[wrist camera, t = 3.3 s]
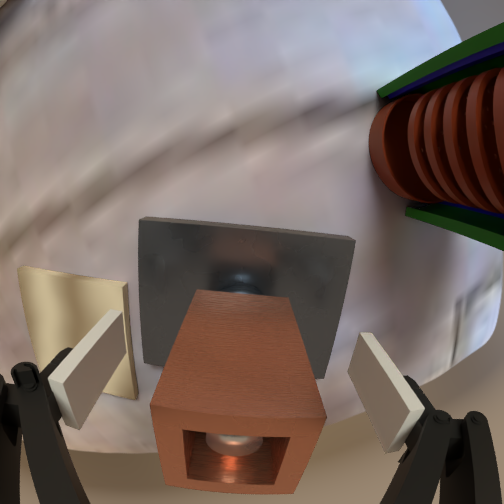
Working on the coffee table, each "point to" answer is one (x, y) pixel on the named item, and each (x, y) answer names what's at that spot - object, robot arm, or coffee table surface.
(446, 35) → the coffee table surface
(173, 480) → the square copper sleeve
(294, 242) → the grey peg stand
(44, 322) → the plywood pad
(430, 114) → the motor
